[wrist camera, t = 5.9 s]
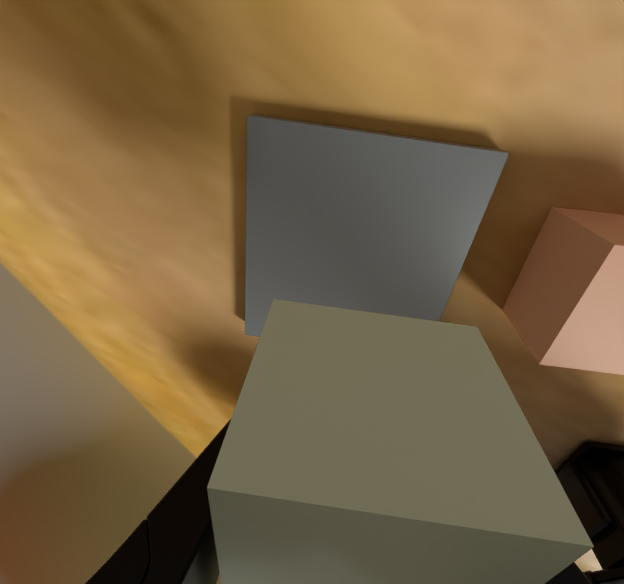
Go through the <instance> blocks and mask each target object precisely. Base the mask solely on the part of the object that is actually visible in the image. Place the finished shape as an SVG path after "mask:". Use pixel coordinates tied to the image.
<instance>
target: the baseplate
mask: <svg viewBox="0 0 624 584" xmlns="http://www.w3.org/2000/svg"><path fill="white" fill-rule="evenodd" d="M508 155H509V153H507V152H505V151H503V150H500V149H494V148H487V147H480V146H473V145H466V144H459V143H452V142H445V141H438V140H431V139H424V138H418V137H411V136H404V135H397V134H390V133H383V132H376V131H369V130H362V129H355V128H348V127H341V126H334V125H327V124H320V123H313V122H306V121H299V120H292V119H285V118H278V117H271V116H264V115H257V114H251V115H247V170H246V273H245V335H252V336H258V337H260V336H261V333H262V330H263V328H264V325H265V322H266V319H267V316H268V313H269V311H270V308H271V305H272V302H273V299H276V300H284V301H291V302H298V303H306V304H313V305H321V306H328V307H336V308H343V309H350V310H358V311H365V312H373V313H380V314H387V315H395V316H402V317H410V318H417V319H424V320H432V321H440V318H441V316H442V313H443V311H444V309H445V306H446V304H447V301H448V299H449V297H450V294H451V292H452V290H453V287H454V285H455V282H456V280H457V278H458V275H459V273H460V270H461V268H462V266H463V263H464V261H465V258H466V256H467V254H468V251H469V249H470V246H471V244H472V242H473V239H474V237H475V234H476V232H477V230H478V227H479V225H480V222H481V220H482V218H483V215H484V213H485V210H486V208H487V206H488V203H489V201H490V198H491V196H492V194H493V191H494V189H495V186H496V184H497V182H498V179H499V177H500V175H501V172H502V170H503V167H504V165H505V163H506V160H507V158H508Z"/></svg>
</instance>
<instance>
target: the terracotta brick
mask: <svg viewBox="0 0 624 584" xmlns="http://www.w3.org/2000/svg"><path fill="white" fill-rule="evenodd" d="M502 310H503V311H504V313H505V314H506V316H507V317H508V319H509V320H510V322H511V323H512V325H513V326H514V328H515V329H516V331H517V332H518V334H519V335H520V337H521V338H522V340H523V341H524V343H525V344H526V346H527V347H528V348H529V350H530V351H531V353H532V354H533V356H534V357H535V359H536V360H537V362H538V363H539V364H540V365H548V366H556V367H564V368H572V369H580V370H588V371H596V372H604V373H612V374H620V375H624V214H615V213H606V212H596V211H587V210H577V209H568V208H558V207H552V208H551V210H550V212H549V214H548V216H547V218H546V220H545V222H544V224H543V226H542V228H541V230H540V232H539V234H538V237H537V239H536V241H535V243H534V245H533V247H532V249H531V251H530V253H529V255H528V257H527V259H526V261H525V263H524V265H523V268H522V270H521V272H520V274H519V276H518V278H517V280H516V282H515V284H514V286H513V288H512V290H511V292H510V294H509V296H508V299H507V301H506V303H505V305H504V307H503V309H502Z"/></svg>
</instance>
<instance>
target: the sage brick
mask: <svg viewBox="0 0 624 584" xmlns="http://www.w3.org/2000/svg"><path fill="white" fill-rule="evenodd" d="M207 491H208V498H209V505H210V512H211V518H212V525H213V532H214V539H215V545H216V552H217V559H218V566H219V572H220V579H221V584H545V583H546V582H547V581H549V580H550V579H551V578H553V577H554V576H555V575H557V574H558V573H559V572H561V571H562V570H563V569H565V568H566V567H567V566H569V565H570V564H572V563H573V562H574V561H576V560H577V559H578V558H580V557H581V556H582V555H584V554H585V553H586V552H588V551H589V550H590V549H592V548H593V547H594V546H593V544H592V542H591V540H590V538H589V536H588V534H587V533H586V531H585V529H584V527H583V525H582V523H581V521H580V519H579V517H578V516H577V514H576V512H575V510H574V508H573V506H572V504H571V502H570V501H569V499H568V497H567V495H566V493H565V491H564V489H563V487H562V485H561V484H560V482H559V480H558V478H557V476H556V474H555V472H554V470H553V468H552V467H551V465H550V463H549V461H548V459H547V457H546V455H545V453H544V452H543V450H542V448H541V446H540V444H539V442H538V440H537V438H536V436H535V435H534V433H533V431H532V429H531V427H530V425H529V423H528V421H527V419H526V418H525V416H524V414H523V412H522V410H521V408H520V406H519V404H518V403H517V401H516V399H515V397H514V395H513V393H512V391H511V389H510V387H509V386H508V384H507V382H506V380H505V378H504V376H503V374H502V372H501V370H500V369H499V367H498V365H497V363H496V361H495V359H494V357H493V355H492V354H491V352H490V350H489V348H488V346H487V344H486V342H485V340H484V338H483V337H482V335H481V333H480V331H479V329H478V327H476V326H469V325H462V324H454V323H447V322H439V321H432V320H424V319H417V318H410V317H402V316H395V315H387V314H380V313H373V312H365V311H358V310H350V309H343V308H336V307H328V306H321V305H313V304H306V303H298V302H291V301H284V300H276V299H273V302H272V305H271V308H270V311H269V313H268V316H267V319H266V322H265V325H264V328H263V330H262V333H261V336H260V339H259V342H258V345H257V347H256V350H255V353H254V356H253V359H252V362H251V364H250V367H249V370H248V373H247V376H246V379H245V381H244V384H243V387H242V390H241V393H240V396H239V398H238V401H237V404H236V407H235V410H234V413H233V415H232V418H231V421H230V424H229V427H228V430H227V432H226V435H225V438H224V441H223V444H222V447H221V449H220V452H219V455H218V458H217V461H216V464H215V466H214V469H213V472H212V475H211V478H210V481H209V483H208V486H207Z"/></svg>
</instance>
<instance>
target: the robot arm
mask: <svg viewBox="0 0 624 584" xmlns="http://www.w3.org/2000/svg"><path fill="white" fill-rule="evenodd" d="M230 421H231V419H230V420H229V422H228V423H227V424H226V425H225V426H224V427H223V428H222V430H221V431H220V432H219V433H218V434H217V435H216V437H215V438H214V439H213V440H212V441H211V442H210V444H209V445H208V446H207V447H206V448H205V449H204V451H203V452H202V453H201V454H200V455H199V456H198V458H197V459H196V460H195V461H194V462H193V463H192V464H191V466H190V467H189V468H188V469H187V470H186V471H185V473H184V474H183V475H182V476H181V477H180V478H179V480H178V481H177V482H176V483H175V484H174V486H173V487H172V488H171V489H170V490H169V491H168V492H167V494H166V495H165V496H164V497H163V498H162V499H161V501H160V502H159V503H158V504H157V505H156V506H155V507H154V509H153V510H152V511H151V512H150V513H149V515H148V516H147V520H143V521H142V522H141V524H140V525H139V526H138V527H137V528H136V529H135V530H134V532H133V533H132V534H131V535H130V536H129V537H128V539H127V540H126V541H125V542H124V543H123V544H122V545H121V546H120V547H119V548H118V550H117V551H116V552H115V553H114V554H113V555H112V556H111V557H110V559H109V560H108V561H107V562H106V563H105V564H104V565H103V566H102V567H101V568H100V569H99V570H98V571H97V572H96V573H95V574H94V575H93V576H92V577H91V578H90V579H89V580H88V581H87V582H86V583H85V584H216V582H217V579H218V576H219V573H220V572H219V566H218V559H217V552H216V545H215V539H214V532H213V525H212V518H211V512H210V505H209V498H208V491H207V486H208V483H209V481H210V478H211V475H212V472H213V469H214V466H215V464H216V461H217V458H218V455H219V452H220V449H221V447H222V444H223V441H224V438H225V435H226V432H227V430H228V427H229V424H230ZM555 474H556V476H557V478H558V480H559V482H560V484H561V485H562V487H563V489H564V491H565V493H566V495H567V497H568V499H569V501H570V502H571V504H572V506H573V508H574V510H575V512H576V514H577V516H578V517H579V519H580V521H581V523H582V525H583V527H584V529H585V531H586V533H587V534H588V536H589V538H590V540H591V542H592V544H593V546H594V547H593V548H592V550H593V552H594V554H595V556H596V557H597V559H598V561H599V563H600V565H601V567H602V569H603V570H599V571H594V572H591V571H585V572H582V571H581V570H580V569H579V567H578V566H577V565H576V564H575V563H574V562H573V563H572V564H570V565H569V566H567V567H566V568H565V569H563V570H562V571H561V572H559V573H558V574H557V575H555V576H554V577H553V578H551V579H550V580H549V581H547V582H546V583H545V584H624V447H623V446H616V445H610V444H604V443H597V442H586V443H584V444H583V445H582V446H581V447H580V448H579V449H578V450H577V451H576V452H575V453H574V454H573V455H572V456H571V457H570V458H569V459H568V460H567V461H566V462H565V463H564V464H563V465H562V466H561V467H560V468H559V469H558V470H557V471H556V472H555Z"/></svg>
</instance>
